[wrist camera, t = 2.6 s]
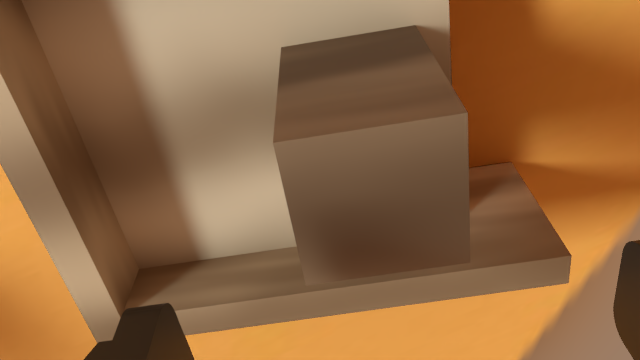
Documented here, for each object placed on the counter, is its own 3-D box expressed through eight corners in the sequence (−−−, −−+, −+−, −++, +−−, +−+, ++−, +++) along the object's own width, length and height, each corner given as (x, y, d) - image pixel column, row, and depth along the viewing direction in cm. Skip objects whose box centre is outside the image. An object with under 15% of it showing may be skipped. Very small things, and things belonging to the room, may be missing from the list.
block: (280, 47, 17) (272, 143, 11) (415, 24, 16) (467, 112, 11) (304, 161, 19) (306, 285, 14) (423, 143, 18) (470, 262, 13)
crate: (1, -91, 17) (-120, -60, 12) (521, -188, 17) (619, -197, 11) (140, 240, 25) (99, 347, 19) (510, 185, 24) (568, 283, 19)
